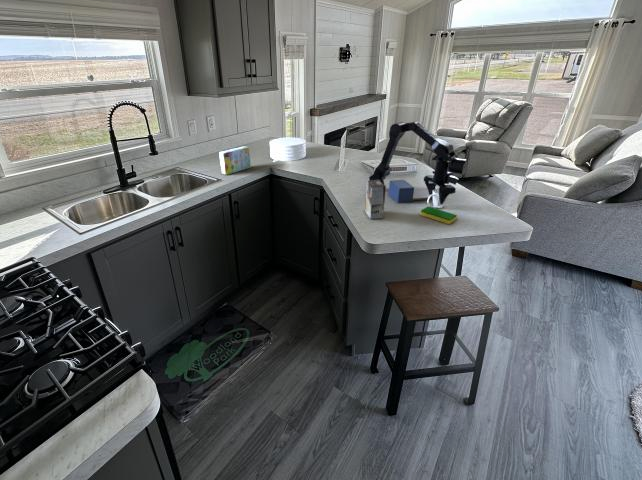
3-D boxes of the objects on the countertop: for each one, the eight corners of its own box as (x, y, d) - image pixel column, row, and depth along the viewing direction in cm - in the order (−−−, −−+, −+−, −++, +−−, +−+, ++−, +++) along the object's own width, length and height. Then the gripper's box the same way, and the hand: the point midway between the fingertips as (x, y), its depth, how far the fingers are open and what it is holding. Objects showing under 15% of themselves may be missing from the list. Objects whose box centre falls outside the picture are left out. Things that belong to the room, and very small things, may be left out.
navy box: (398, 203, 168) (399, 188, 165) (387, 194, 180) (389, 180, 176) (443, 199, 170) (446, 185, 167) (430, 190, 182) (432, 177, 179)
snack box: (246, 166, 234) (244, 145, 228) (250, 167, 231) (249, 146, 225) (221, 173, 221) (218, 151, 215) (225, 175, 217) (223, 153, 211)
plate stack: (273, 151, 272) (273, 137, 267) (307, 151, 268) (307, 137, 263) (267, 160, 247) (266, 145, 242) (304, 160, 243) (303, 145, 238)
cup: (448, 208, 161) (451, 193, 158) (431, 211, 158) (433, 195, 155) (438, 202, 167) (441, 188, 164) (422, 205, 165) (424, 190, 161)
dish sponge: (427, 210, 159) (428, 205, 158) (456, 219, 150) (457, 214, 149) (419, 215, 155) (420, 210, 154) (449, 224, 145) (450, 219, 144)
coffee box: (383, 218, 153) (386, 186, 146) (370, 219, 152) (372, 187, 146) (377, 210, 161) (379, 179, 154) (364, 211, 161) (366, 180, 154)
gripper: (469, 175, 147) (463, 206, 154) (446, 163, 164) (441, 192, 171) (446, 176, 146) (440, 208, 153) (425, 164, 163) (420, 193, 170)
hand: (436, 200), depth 161 cm, fingers open, 9 cm apart
